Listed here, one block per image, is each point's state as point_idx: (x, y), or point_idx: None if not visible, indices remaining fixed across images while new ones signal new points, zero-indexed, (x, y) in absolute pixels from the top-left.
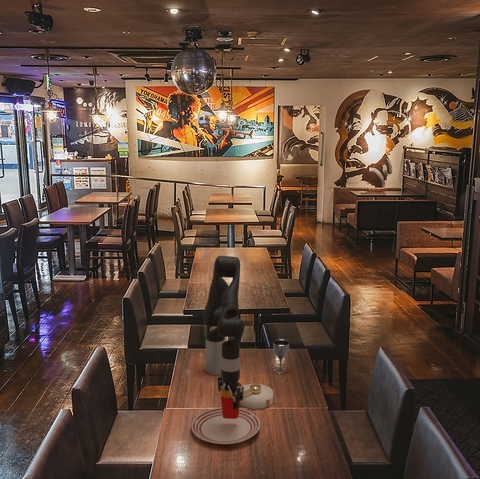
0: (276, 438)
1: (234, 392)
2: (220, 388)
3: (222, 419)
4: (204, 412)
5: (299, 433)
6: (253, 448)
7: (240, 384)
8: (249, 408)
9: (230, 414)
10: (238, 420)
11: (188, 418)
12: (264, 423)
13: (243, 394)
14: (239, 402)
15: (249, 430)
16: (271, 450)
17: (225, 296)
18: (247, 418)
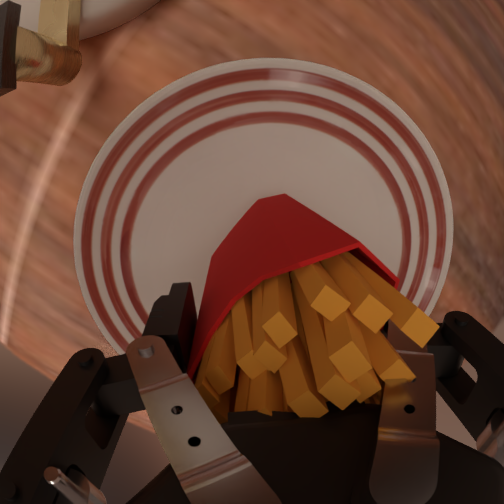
0: (471, 116)
1: (375, 399)
2: (118, 428)
3: (173, 231)
4: (89, 301)
5: (484, 24)
6: (455, 248)
7: (8, 11)
8: (147, 9)
9: (291, 282)
10: (247, 159)
11: (83, 340)
12: (348, 45)
13: (69, 7)
14: (366, 263)
15: (384, 186)
16: (498, 200)
17: None
18: (280, 107)
